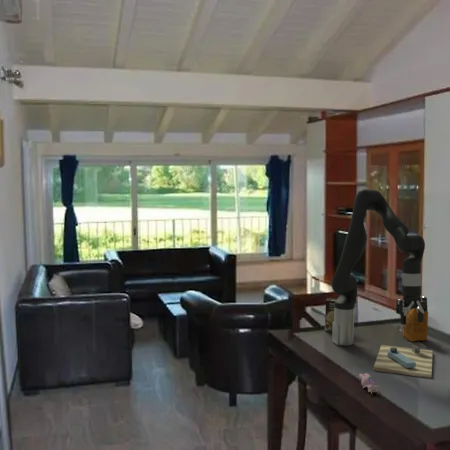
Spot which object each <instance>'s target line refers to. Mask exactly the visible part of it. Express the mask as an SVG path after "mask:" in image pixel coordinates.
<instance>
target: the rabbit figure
mask: <svg viewBox="0 0 450 450" xmlns="http://www.w3.org/2000/svg"><path fill="white" fill-rule="evenodd" d="M359 378H360V380H361V382H360V385H361V386H362V389H365V388H366V387H367V388H366V389H367V391H368V392H371V394H373V393H372V392H378V393H377V394H379V395H380V393H379V392H380V391H379V390H378V389H379V388H380V386H378V385H375V381H374V380H373V377H372V376H371V374H369V373H359ZM371 394H370V395H371Z"/></svg>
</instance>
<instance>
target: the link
mask: <svg viewBox="0 0 450 450" xmlns="http://www.w3.org/2000/svg"><path fill="white" fill-rule="evenodd" d="M387 356H388V357H390V358H392V359H394V360H395V361H397V362H398V363H400V364H401V365H403V366H404V367H406V368H414V367H416V362H414V361H412V360H411V359H409V358H408V357H406V356H404V355H403V354H401V353H400V352H399V351H397V352H391V351H390V350H388V353H387Z"/></svg>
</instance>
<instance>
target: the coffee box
mask: <svg viewBox="0 0 450 450" xmlns="http://www.w3.org/2000/svg"><path fill="white" fill-rule="evenodd" d="M337 299H338V298H332V297H327V298H326V300H325V312H324V313H325V317H324V331H325V332H331V333H332V323H333V322H334V310H335V301H336V300H337Z"/></svg>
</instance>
